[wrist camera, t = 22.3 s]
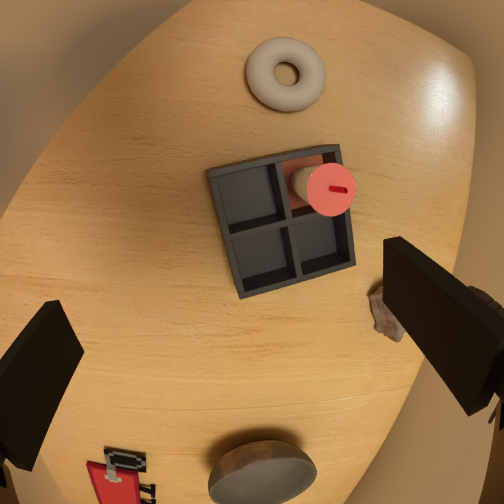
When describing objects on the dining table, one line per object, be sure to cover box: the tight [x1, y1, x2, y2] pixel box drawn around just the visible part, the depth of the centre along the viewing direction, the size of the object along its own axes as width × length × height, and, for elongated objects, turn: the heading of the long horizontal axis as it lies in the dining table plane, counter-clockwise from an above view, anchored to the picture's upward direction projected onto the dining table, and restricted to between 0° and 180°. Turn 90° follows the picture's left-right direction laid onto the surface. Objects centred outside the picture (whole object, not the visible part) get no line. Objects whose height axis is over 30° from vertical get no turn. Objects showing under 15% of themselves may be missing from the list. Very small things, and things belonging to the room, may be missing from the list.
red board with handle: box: [86, 449, 156, 504], centre depth 50 cm, size 30×3×15 cm
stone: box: [369, 285, 406, 342], centre depth 45 cm, size 10×8×6 cm
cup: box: [290, 163, 356, 216], centre depth 33 cm, size 5×5×12 cm
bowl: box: [208, 440, 317, 504], centre depth 49 cm, size 20×20×10 cm
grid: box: [206, 144, 356, 299], centre depth 38 cm, size 15×15×5 cm
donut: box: [246, 37, 327, 112], centre depth 33 cm, size 10×4×10 cm
